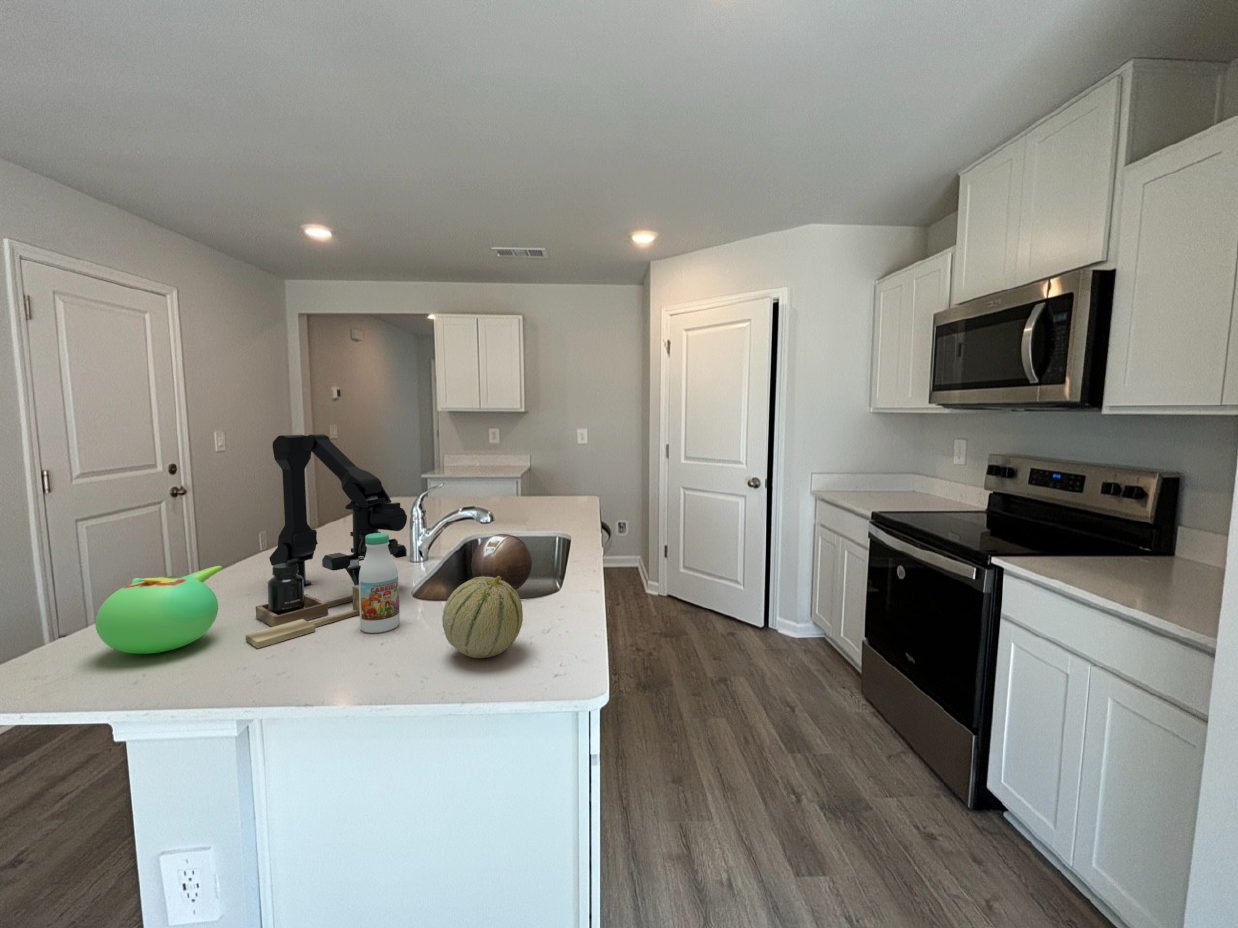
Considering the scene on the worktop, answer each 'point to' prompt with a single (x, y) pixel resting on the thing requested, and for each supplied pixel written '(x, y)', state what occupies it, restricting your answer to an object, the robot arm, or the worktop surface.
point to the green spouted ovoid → (158, 613)
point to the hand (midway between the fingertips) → (367, 589)
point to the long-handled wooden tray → (298, 626)
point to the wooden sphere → (503, 560)
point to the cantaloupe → (482, 617)
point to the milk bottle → (378, 587)
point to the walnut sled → (298, 611)
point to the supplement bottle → (285, 589)
